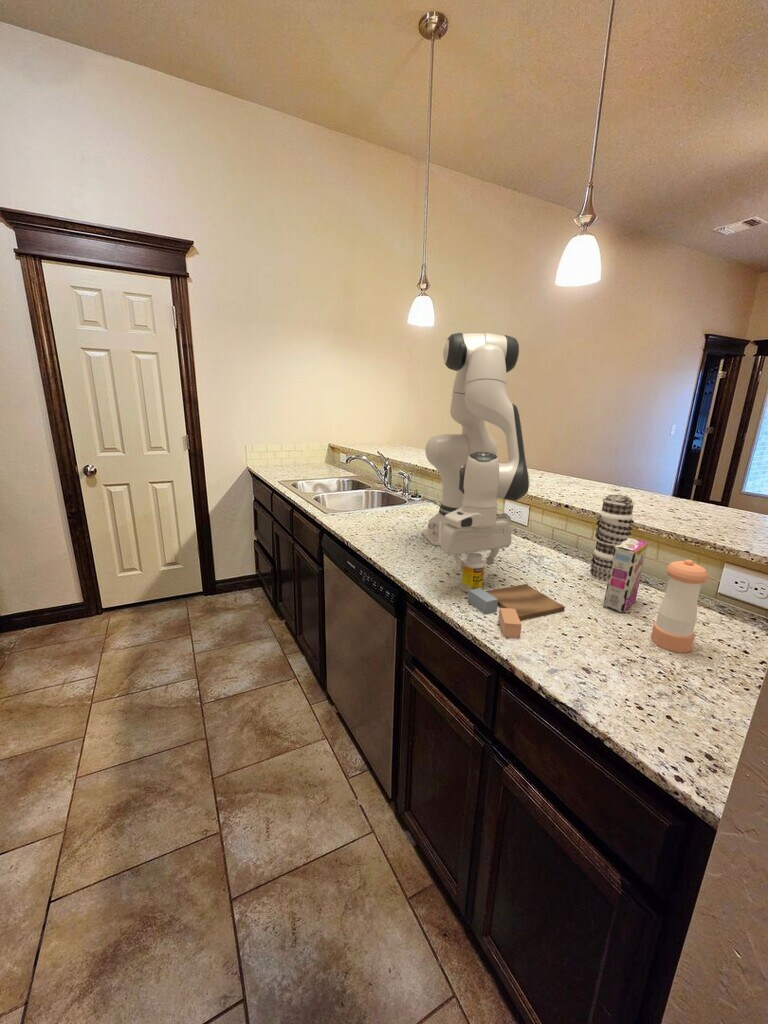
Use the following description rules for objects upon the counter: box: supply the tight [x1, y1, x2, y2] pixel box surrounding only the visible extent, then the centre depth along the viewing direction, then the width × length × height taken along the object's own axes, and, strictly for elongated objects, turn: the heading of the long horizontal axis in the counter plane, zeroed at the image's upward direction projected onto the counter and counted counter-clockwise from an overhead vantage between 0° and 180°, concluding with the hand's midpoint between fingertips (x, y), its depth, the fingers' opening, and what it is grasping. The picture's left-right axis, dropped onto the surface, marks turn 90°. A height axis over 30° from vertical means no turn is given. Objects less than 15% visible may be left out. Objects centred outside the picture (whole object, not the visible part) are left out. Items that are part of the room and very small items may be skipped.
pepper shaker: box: [650, 559, 709, 654], centre depth 86 cm, size 7×7×19 cm
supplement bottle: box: [461, 552, 485, 594], centre depth 111 cm, size 6×6×10 cm
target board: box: [485, 583, 566, 622], centre depth 105 cm, size 14×14×1 cm
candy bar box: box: [602, 537, 649, 614], centre depth 104 cm, size 11×5×16 cm, turn 135°
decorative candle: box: [588, 494, 636, 585], centre depth 118 cm, size 9×9×25 cm
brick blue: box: [467, 588, 498, 615], centre depth 103 cm, size 7×4×4 cm, turn 25°
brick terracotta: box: [498, 607, 523, 639], centre depth 93 cm, size 7×4×4 cm, turn 174°
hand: (475, 565), depth 110 cm, fingers open, 8 cm apart
